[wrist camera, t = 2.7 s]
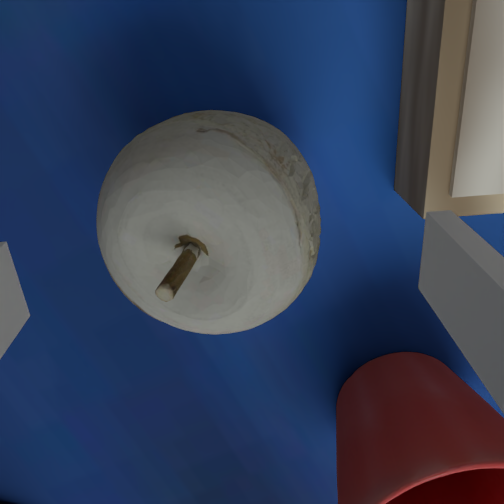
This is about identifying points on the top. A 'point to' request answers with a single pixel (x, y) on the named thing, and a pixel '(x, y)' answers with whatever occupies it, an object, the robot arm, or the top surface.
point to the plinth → (452, 108)
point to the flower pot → (416, 436)
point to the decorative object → (210, 221)
